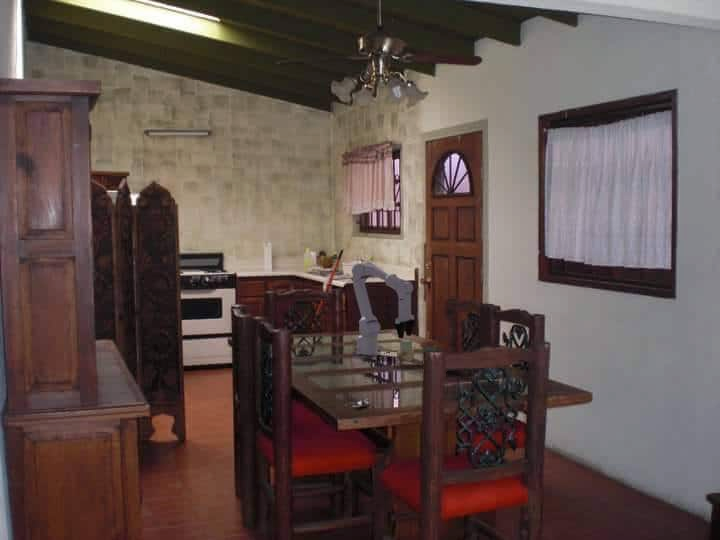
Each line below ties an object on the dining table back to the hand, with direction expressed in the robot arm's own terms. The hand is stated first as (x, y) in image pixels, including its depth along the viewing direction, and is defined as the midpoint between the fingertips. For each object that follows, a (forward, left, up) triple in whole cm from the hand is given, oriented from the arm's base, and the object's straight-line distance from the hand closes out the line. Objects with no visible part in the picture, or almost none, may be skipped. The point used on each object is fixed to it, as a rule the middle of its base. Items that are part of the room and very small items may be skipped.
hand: (404, 336), depth 363 cm
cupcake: (+5, +15, -11) cm, 19 cm away
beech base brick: (+1, -1, -11) cm, 11 cm away
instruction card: (-11, +6, -10) cm, 17 cm away
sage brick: (+1, -1, -7) cm, 7 cm away
